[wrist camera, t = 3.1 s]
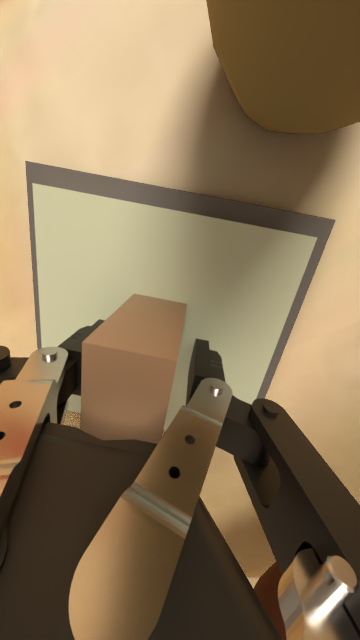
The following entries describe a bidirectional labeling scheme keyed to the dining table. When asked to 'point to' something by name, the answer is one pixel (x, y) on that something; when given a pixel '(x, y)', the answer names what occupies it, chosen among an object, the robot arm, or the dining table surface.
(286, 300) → the cover
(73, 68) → the dining table surface
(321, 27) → the squeeze bottle
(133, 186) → the mat
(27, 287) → the dining table surface
